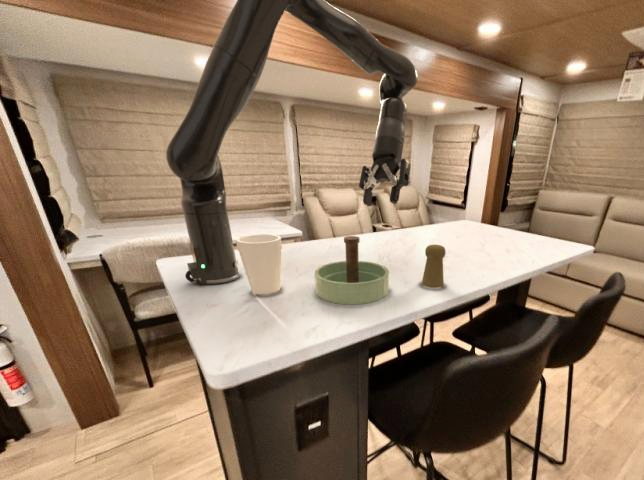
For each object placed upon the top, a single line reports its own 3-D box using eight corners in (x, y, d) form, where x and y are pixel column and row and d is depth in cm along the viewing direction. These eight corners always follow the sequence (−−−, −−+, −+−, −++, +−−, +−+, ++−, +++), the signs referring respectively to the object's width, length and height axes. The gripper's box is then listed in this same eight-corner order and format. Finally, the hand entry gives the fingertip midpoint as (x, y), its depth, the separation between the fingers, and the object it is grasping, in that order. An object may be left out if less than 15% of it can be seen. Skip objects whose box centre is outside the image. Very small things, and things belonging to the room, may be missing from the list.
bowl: (339, 313, 65) (338, 289, 63) (304, 288, 78) (302, 267, 75) (402, 295, 76) (403, 274, 74) (363, 276, 88) (363, 257, 86)
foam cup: (295, 288, 78) (289, 236, 73) (269, 301, 70) (261, 244, 64) (264, 282, 80) (257, 232, 75) (236, 295, 72) (226, 240, 67)
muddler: (349, 294, 74) (348, 240, 69) (340, 289, 77) (338, 237, 72) (365, 290, 76) (364, 238, 71) (355, 285, 79) (354, 235, 74)
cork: (442, 290, 80) (447, 249, 76) (419, 288, 81) (422, 247, 77) (444, 283, 85) (448, 243, 81) (422, 280, 86) (425, 241, 82)
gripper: (358, 140, 80) (349, 200, 80) (404, 128, 72) (394, 195, 72) (376, 154, 87) (367, 210, 86) (420, 145, 79) (410, 207, 78)
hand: (379, 203), depth 79 cm, fingers open, 8 cm apart
